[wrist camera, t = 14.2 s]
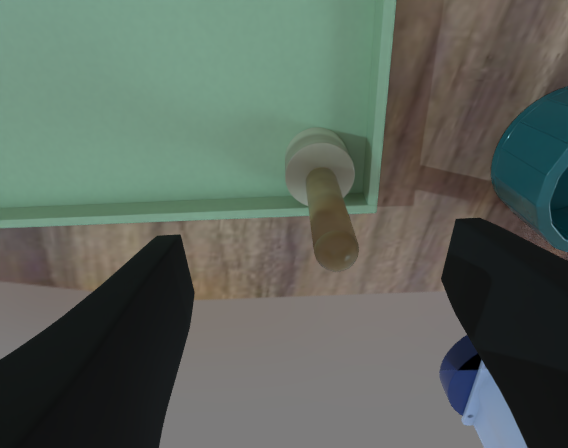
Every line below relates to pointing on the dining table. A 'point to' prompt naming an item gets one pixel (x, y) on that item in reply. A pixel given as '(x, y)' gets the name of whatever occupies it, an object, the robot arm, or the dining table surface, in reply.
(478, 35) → the dining table surface
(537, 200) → the cup
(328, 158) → the brush
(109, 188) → the tray
